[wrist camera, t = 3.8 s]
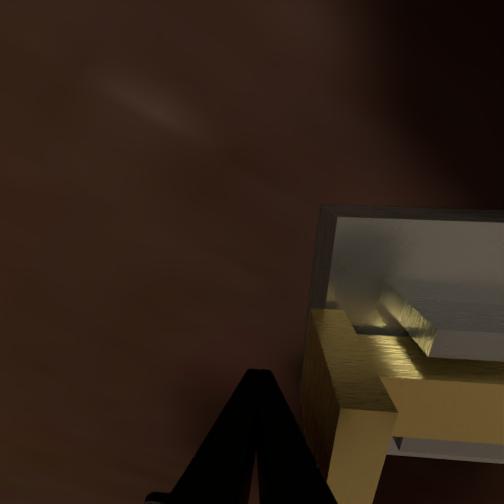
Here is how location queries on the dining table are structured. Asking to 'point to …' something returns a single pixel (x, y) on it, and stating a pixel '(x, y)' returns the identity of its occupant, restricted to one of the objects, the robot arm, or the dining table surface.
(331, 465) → the key
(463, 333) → the socket
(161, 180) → the dining table surface
